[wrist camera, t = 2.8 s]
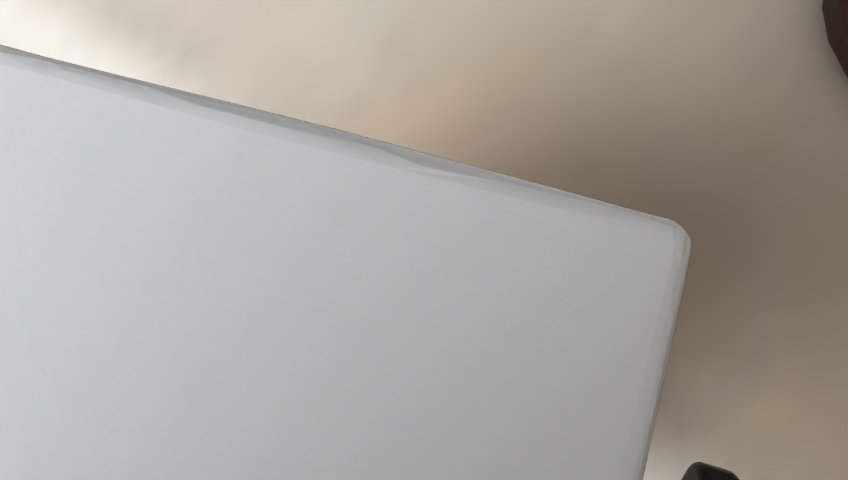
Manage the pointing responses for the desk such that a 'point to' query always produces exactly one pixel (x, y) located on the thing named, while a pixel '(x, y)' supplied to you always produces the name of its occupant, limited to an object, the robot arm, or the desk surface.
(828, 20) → the dark brown curved piece
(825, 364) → the desk surface
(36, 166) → the skincare box
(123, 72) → the desk surface
